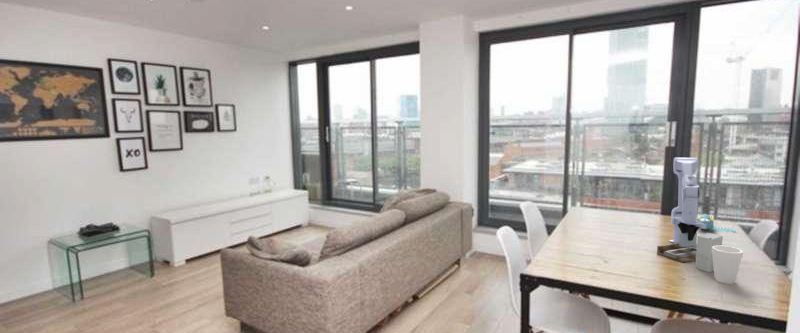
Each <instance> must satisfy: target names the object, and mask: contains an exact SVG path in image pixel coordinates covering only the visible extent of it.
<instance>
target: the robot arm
mask: <svg viewBox="0 0 800 333" xmlns="http://www.w3.org/2000/svg"><path fill="white" fill-rule="evenodd" d="M672 166H673V167H672V168H673V170H672V171H673V174H675V175H676V176H677V179H678V190H677V191H678V193H677V194H678V196H677V201H678V202H677V206H676V207H674V208H672V210H671V214H670V224H671V225H673V235H672V238H673V239H669V240H668V242H671V243H672V244H673V243H679V241H680V233H687V232H688V240H689V241H692V240H693V238H694V236H695V234H696V233H698V231H699V230H700V229H699V228H702V229H701V230H705V229H704V228H706V224H704V223H701V222H699V221H697V218H698V217H697V216H698V207H699V206H698V204H699V199H700V196H701V188H700V185H699V184H698V182H697V178H696V176H694V175H695V174H696V173H697V170H698V167H699V160H698V157H677V156H676V157H674V158H673V163H672ZM696 245H697V241H696Z"/></svg>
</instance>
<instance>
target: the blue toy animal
mask: <svg viewBox="0 0 800 333" xmlns="http://www.w3.org/2000/svg"><path fill="white" fill-rule="evenodd" d="M697 221H699V222H701V223H704V224H706V228H704V229H702V228H699V229H698V230H707V231H708V230H709V231H715V232H717V231H718V232H726V233H734V234H736V233H737V230H735V229H730V228H726V227H725V228H723V227H719V226H718V227H717V226H714V219H713V218H712V216H710V215H709V214H706V213H702V214H701V215H698V217H697Z"/></svg>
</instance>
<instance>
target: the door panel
mask: <svg viewBox="0 0 800 333" xmlns="http://www.w3.org/2000/svg"><path fill="white" fill-rule="evenodd" d="M697 239H698V232H696V234H695V236H694V238H693V240H692V241H689V240H688V232H687V233H680V241H679V246H681V247H686V248H688V247H693V246H697V244H696V242H697Z"/></svg>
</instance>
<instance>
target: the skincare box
mask: <svg viewBox="0 0 800 333" xmlns="http://www.w3.org/2000/svg"><path fill="white" fill-rule="evenodd" d="M723 236H724V235H720V234H715V233H712V232H706V233H703V234H700V235H697V241H696V242H697V244H696V248H697V251H696V261H695V264H694V265H695V266H694V268H695V269H698V270H700V271H704V272H707V273H712V272H714V266H713V256H712V247H713V246H716V245H723V238H724V237H723Z"/></svg>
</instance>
